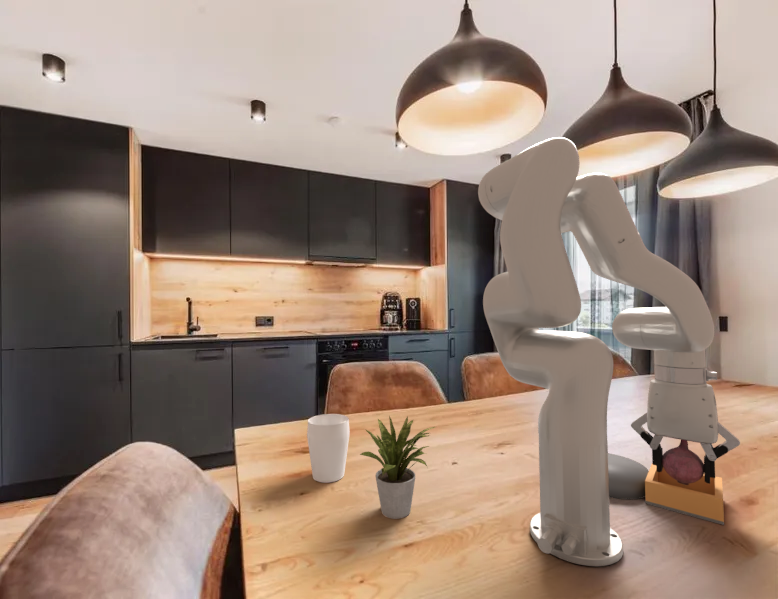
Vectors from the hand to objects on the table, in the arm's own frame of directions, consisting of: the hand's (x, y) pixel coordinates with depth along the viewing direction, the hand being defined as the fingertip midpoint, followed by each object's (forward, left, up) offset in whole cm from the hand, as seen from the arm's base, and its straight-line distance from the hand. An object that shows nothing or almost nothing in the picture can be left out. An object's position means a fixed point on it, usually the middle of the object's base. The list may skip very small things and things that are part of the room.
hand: (682, 474), depth 67 cm
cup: (-35, +58, -5) cm, 68 cm away
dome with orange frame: (0, +7, -5) cm, 9 cm away
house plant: (-37, +37, -5) cm, 52 cm away
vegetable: (0, 0, -2) cm, 2 cm away
